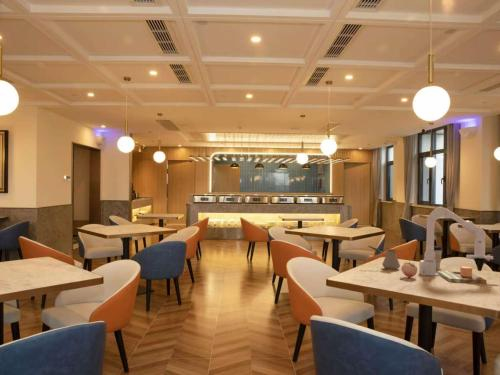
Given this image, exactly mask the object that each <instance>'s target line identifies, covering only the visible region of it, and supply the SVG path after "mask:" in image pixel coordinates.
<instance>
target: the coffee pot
mask: <svg viewBox="0 0 500 375" xmlns="http://www.w3.org/2000/svg"><path fill="white" fill-rule="evenodd" d="M367 248H370V249H373V250H374V251H377V252H379V253H380V254H381V253H382V254H383V255H385V257H384V259H383V261H382V267H383V268H384V269H385V270H388V271H397V270H398V269H399V268H401V264H400V261H399V259H398V257H397V254H396V252H397V250H396V249H386V252H384V251H382V250H380V249H378V248H376V247H373V246H371V245H368V246H367Z"/></svg>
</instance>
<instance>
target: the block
mask: <svg viewBox="0 0 500 375" xmlns="http://www.w3.org/2000/svg"><path fill="white" fill-rule="evenodd" d="M459 268H460V270H459V272H460V275H462V276H470V277H472V273H473V268H472V267H470V266H460V267H459Z"/></svg>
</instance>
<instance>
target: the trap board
mask: <svg viewBox="0 0 500 375" xmlns="http://www.w3.org/2000/svg"><path fill="white" fill-rule="evenodd" d="M437 275H439V276H441V278H443V279H445V280H447V281H448V282H449V283H467V284H483V285H484V284H485V285H486V284H487V279H485V278H483V277H481V276H479V275H477V274H475V273H473V272H472V277H470V276H462V275H460V271H450V270H449V271H448V270H447V271H445V270H437Z"/></svg>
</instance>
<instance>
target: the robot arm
mask: <svg viewBox="0 0 500 375" xmlns="http://www.w3.org/2000/svg"><path fill="white" fill-rule="evenodd" d="M443 217H446V218H450V219H452V220H453V221H456V222H457V223H459V224H460V225H461V227H462V229H464V230H465V231H466V232H468V233H469V234H471V235H474V242H473V243H474V245H473V246H474V249H473V250H474V251H473V254H466V255H465V256H466V259H472V260H473V261H474V263H475V265H476V270H477V271H479V272H482V271H483V270H482V269H483V267H484V265H485V262H486V261H487V260H494V256H493V255H486V237H487V233H486V231H485V230H484V229H482V228H481V227H480V225H479V226H477V225H476V224H475V223H473V221H472V220H465V219H463V218H462V217H460V216H459V215H457V214H456V213H454V212H453V211H452V210H449V209H448V208H445V207H443V206H437V207H436V208H434V209H433V210H432V211H431V213H429V215H428V216H427V217H426V242H425V243H426V245H425V251H424V254H423V257H424V258H423V260H419V266H418V267H419V268H418V271H419V272H418V273H419V274H420V275H421V276H432V277H437V276H438V275H439V274H438V273H437V271H436V270H437V269H436V260H435V259H434V258H435V252H434V246H435V224H436V223H435V221H437V220H438V219H441V218H443Z"/></svg>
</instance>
